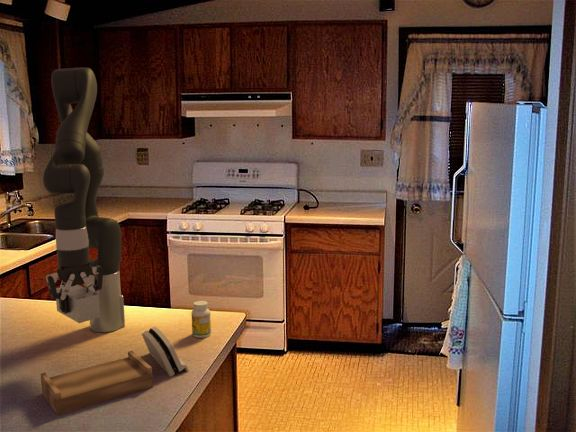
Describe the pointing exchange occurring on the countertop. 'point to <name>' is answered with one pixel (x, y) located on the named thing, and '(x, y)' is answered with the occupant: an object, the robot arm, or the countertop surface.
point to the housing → (81, 304)
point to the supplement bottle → (201, 320)
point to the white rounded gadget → (163, 351)
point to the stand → (96, 383)
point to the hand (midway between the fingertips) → (77, 309)
